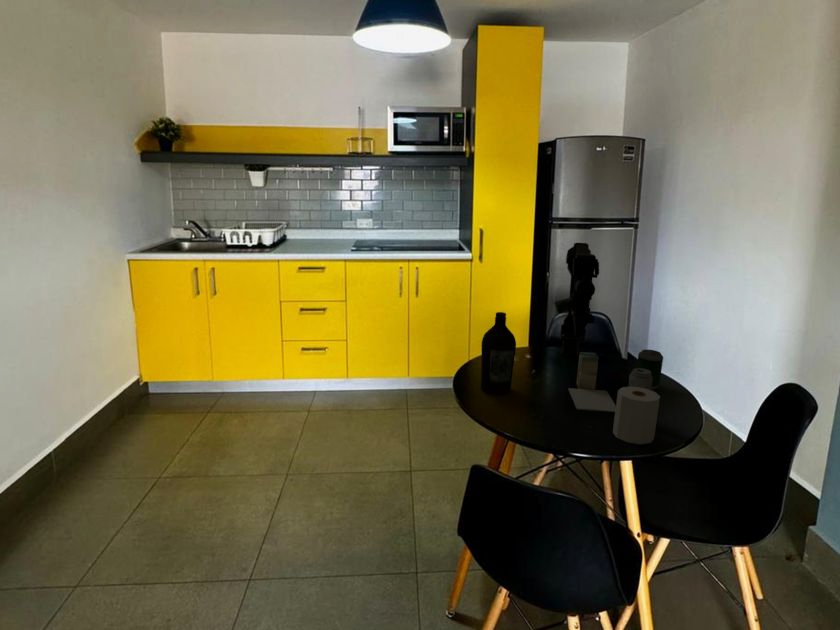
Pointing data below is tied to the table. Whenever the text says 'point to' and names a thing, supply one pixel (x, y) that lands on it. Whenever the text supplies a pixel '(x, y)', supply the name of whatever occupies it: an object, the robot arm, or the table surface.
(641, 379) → the energy drink can
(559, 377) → the table surface
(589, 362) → the birch block
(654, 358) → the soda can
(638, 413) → the toilet paper
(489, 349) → the olive oil
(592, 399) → the rubber mat
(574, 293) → the robot arm
